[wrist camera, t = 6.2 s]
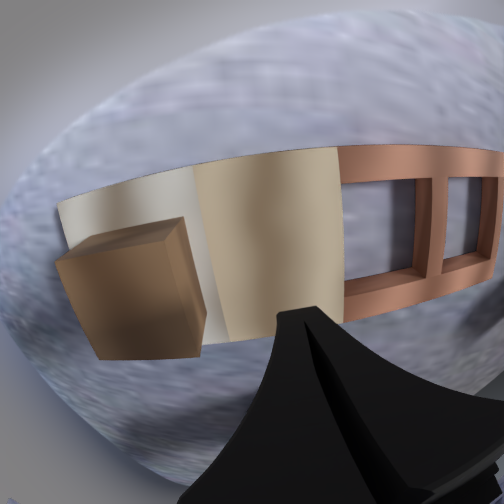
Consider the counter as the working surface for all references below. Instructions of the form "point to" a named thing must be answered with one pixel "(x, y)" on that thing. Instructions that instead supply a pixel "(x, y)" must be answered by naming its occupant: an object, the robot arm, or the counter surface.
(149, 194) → the board
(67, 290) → the walnut block
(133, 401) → the counter surface
